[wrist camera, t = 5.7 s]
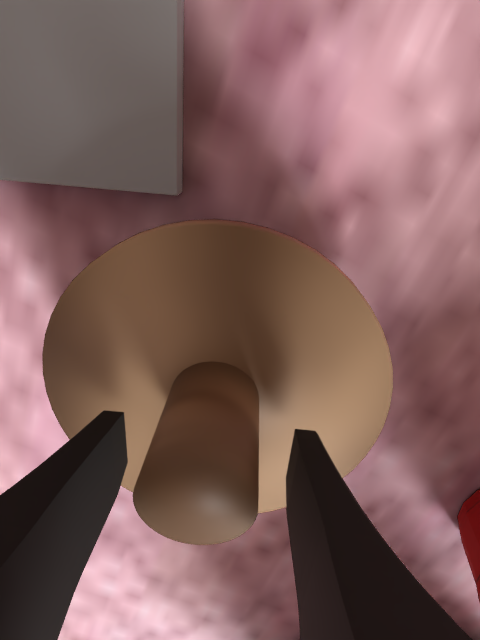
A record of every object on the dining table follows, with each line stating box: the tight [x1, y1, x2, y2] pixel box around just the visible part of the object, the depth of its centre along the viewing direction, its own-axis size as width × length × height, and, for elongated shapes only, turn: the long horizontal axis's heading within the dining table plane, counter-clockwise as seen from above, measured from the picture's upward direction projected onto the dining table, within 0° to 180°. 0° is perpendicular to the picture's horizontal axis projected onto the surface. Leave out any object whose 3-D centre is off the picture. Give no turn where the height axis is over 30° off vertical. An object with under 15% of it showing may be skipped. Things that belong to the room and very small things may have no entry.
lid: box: [42, 219, 393, 545], centre depth 11 cm, size 12×12×5 cm
